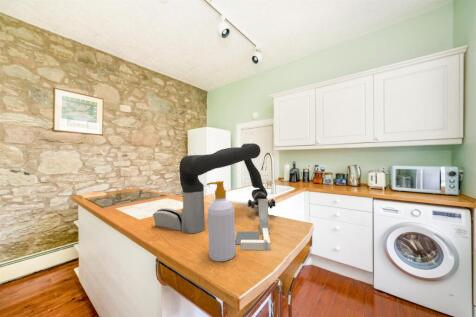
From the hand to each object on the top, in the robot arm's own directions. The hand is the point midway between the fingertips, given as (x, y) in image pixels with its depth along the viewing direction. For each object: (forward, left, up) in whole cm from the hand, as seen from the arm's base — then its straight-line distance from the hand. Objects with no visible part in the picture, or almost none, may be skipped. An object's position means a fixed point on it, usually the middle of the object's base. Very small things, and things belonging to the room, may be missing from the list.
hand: (262, 206), depth 88 cm
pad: (-7, -20, -7) cm, 22 cm away
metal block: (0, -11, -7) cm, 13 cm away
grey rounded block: (-44, -8, -7) cm, 45 cm away
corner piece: (-4, -22, -7) cm, 24 cm away
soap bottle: (-15, -32, -7) cm, 36 cm away
